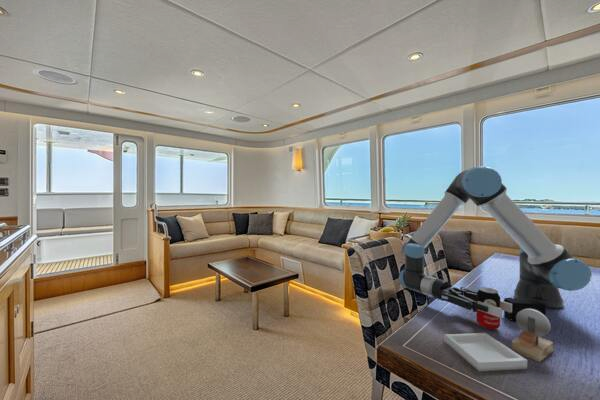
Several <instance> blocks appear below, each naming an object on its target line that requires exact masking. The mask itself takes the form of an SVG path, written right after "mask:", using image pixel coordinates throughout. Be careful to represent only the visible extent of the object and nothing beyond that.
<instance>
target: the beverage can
mask: <svg viewBox="0 0 600 400" xmlns="http://www.w3.org/2000/svg"><path fill="white" fill-rule="evenodd" d="M500 300H501V296H500V294H499V291H498V290H497V289H495V288H492V287H491V288H490V287H484V286H481V287H478V290H477V301H476V302H478V301H480V302H483V303H486V304H489V305H492V306H495V307H499V308H500ZM475 313H476V315H475V319H476V322H477V323H478V324H479V326H481V327H482V328H485V329H488V330H497V329H498V328H500V327H501V318H500V317H497V316H494V315H491V314H488V313H485V312H482V311H480V310H477V309H476V312H475Z"/></svg>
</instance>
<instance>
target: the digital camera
mask: <svg viewBox="0 0 600 400" xmlns="http://www.w3.org/2000/svg"><path fill="white" fill-rule="evenodd" d="M503 301H504V302H507V303H511V304H512V313H510V312H507V311H504V310H503V317H504V318H505V319H506V320H508V321H509V322H510V323H516V324H517V321H516V315H517V313H518V312H520V311H521V310H523V309H528V308H529V309H535V310H537V311H539V312H541V313H542V314H544V315H545V316H546V315H547V314H546V313H547V312H546V311H547V308H546V305H545V304H543V303H541V302H539V301H537V300H527V299H516V298H513V297H504V298H503ZM546 317H547V316H546Z"/></svg>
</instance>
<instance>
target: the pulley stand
mask: <svg viewBox="0 0 600 400" xmlns="http://www.w3.org/2000/svg"><path fill="white" fill-rule="evenodd" d="M516 321H517V323H516V324H517V326H518V327H519V328H520V329H521V330H522V332H520V333H519V336H518V337H516V338H515V339H513V340H512V341H511V346H510V347H511V348H510V349H511V350H513V351H514V352H516V353H517V354H519V355H520V356H524V357H527V358H529V359H532V360H533V361H535V362H538V363H540V362H541V361H543V360H544V359H545V358H547V357H548V356H549V355H551V353H553V352H554V350H555V349H554V347H555V345H554V344H555V343H554V341H552V340H549V339H547V338H546V339H545V338H543V337H544V336H546V335H548V333H550V331H551V329H552V328H551V327H552V326H551V322H550V320H549V318H548V317H547V316H545V315H544V314H542V313H541V312H539V311H537V310H535V309H529V308H528V309H523V310H521V311H520V312H518V313H517V315H516Z"/></svg>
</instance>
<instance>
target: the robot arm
mask: <svg viewBox="0 0 600 400" xmlns="http://www.w3.org/2000/svg"><path fill="white" fill-rule="evenodd" d="M502 180H503V179H502V176H501V175H500V174H499V172H498V171H497V170H495V169H494V168H493V167H489V166H474V167H471V168H468V169H466V170H463V171H461V172H459V173H458V174H457V175H456V176H455V177H454V179H453V180H452V182H451V183H450V185H449V186H448V187H447V189H446V190H445V191H444V196H443V198H442V199H440V201H439V203H437V205H436V206H435V207H434V209H433V210H432V211H431V213H430V214H429V215H428V216H427V218H426V219H425V220H424V221H423V222H422V224H420V225H419V227H418V228H417V230H416V231H415V232H414V234H413V235H412V236H411V237H410V239H409V240H408V241H407V242H406V243H404V244H403V245H402V247H401V254H402V255H403V257H404V269H402V270H401V271H400V272H399V276H398V282H399V284H400V285H401V286H402V287H404V288H406V289H408V290H412V291H415V292H417V293H421V294H423V295H426V296H427V297H428V298H435V299H436V300H440V301H442V302H443V301H444V302H448V303H450V304H453V305H455V306H458V307H460V308H463V309H465V310H468V311H472V312H474V313H476V309H477V310H480V311H482V312H485V313H488V314H491V315H494V316H497V317H500V319H501V318H502V317H503V312H504V311H507V312H510V313H512V304H511V303H507V302H504V300H501V299H500V308H499V307H495V306H492V305H489V304H486V303H483V302H480V301H478V302H477V292H478V290H477V291H476V290H472V289H469V288H467V287H463V286H460V288H459V287H454V286H453V287H452V286H451V283H450V282H449V281H447V280H444V279H440V278H437V277H434V276H430V275H426V274H425V255H426V253H425V249H426V248H428V246H429V244H430V243H431V242H432V240H433V239H434V238H436V236H437V235H438V233H439V232H440V231H441V229H443V227H444V226H445V225H446V223H448V221H449V220H450V219H451V218H452V217H453V216H454V214H455V213H456V212H457V211H458V210H459V208H460V207H461V206H464V205H466V204H467V203H468V201H470V200H471V201H472V202H473V204H475V205H476V207H481V208H484V209H485V210H486V211H487V212H488V213H489V214H490V216H491V217H492V218H493V219H494V221H496V222H497V223H498V224H499V225H500V226H501V227H502V229H503V230H505V233H507V234H508V235H509V236H510V237H511V238H512V240H514V242H515V243H516V244H517V245H519V253H518V254H519V279H518V281H517V283H516V287H515V289H514V291H513V297H514V299H527V300H537V301H539V302H541V303H543V304H545V305H546V309H562V308H564V299H563V298H562V295H561V292H560V290H564V291H570V292H573V291H579V290H582V289H584V288H586V286H588V284H589V283H590V282H591V278H592V270H591V268H590V266H589V265H588V264H587V263H585V262H584V261H582V260H580V259H578V258H574V256H573V255H572V254H571V253H570V252H569V251H568V250H567V249H565V247H564V246H563V245H561V244H555V243H553V242H552V241H551V240H550V239H549V238H548V236H547V235H545V233H544V232H543V231H542V230H541V229H540V228H539V227H538V226H537V225H536V224H535V222H534V221H532V220H531V218H530V217H528V215H526V213H524V211H523V210H522V209H521V208H520V207H519V206H518V205H517V204H516V202H514V201H513V200H512V199H511V197H509V196H508V195H507V188H508V187H506V186H505V185H504V183H502Z"/></svg>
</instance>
